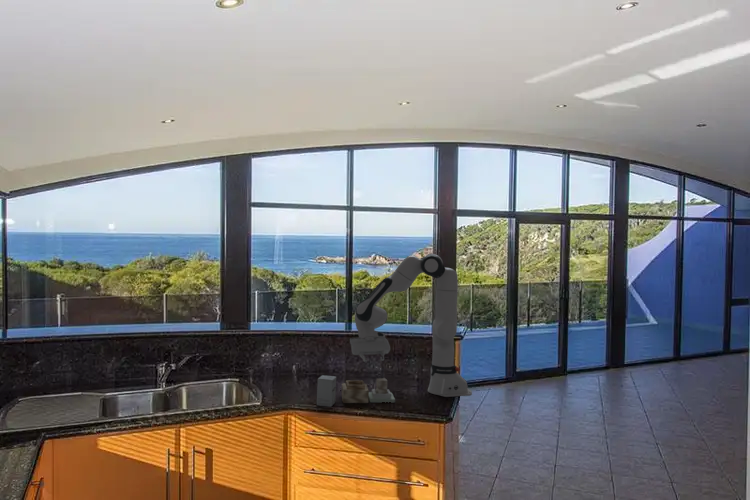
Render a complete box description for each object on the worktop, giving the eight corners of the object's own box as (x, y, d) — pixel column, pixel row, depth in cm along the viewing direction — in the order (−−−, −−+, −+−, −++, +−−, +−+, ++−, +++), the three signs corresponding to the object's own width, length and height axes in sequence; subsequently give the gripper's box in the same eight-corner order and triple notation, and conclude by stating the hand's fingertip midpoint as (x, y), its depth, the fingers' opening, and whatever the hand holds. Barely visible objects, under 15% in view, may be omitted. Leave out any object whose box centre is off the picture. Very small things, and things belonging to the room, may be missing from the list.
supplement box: (331, 407, 277) (332, 380, 276) (316, 405, 278) (317, 378, 278) (335, 402, 284) (336, 376, 283) (320, 401, 285) (321, 374, 285)
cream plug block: (383, 394, 296) (384, 378, 295) (386, 396, 292) (387, 380, 292) (375, 394, 294) (376, 378, 294) (379, 397, 291) (379, 380, 290)
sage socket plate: (391, 395, 300) (391, 388, 300) (395, 402, 288) (395, 395, 288) (367, 395, 298) (367, 388, 298) (370, 402, 287) (370, 395, 286)
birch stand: (365, 395, 297) (366, 379, 297) (368, 403, 285) (368, 386, 285) (341, 395, 296) (342, 379, 296) (342, 402, 284) (343, 386, 284)
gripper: (350, 334, 305) (356, 358, 297) (387, 333, 313) (394, 356, 304) (347, 341, 310) (352, 365, 301) (384, 340, 317) (390, 363, 309)
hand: (374, 360), depth 303 cm, fingers open, 8 cm apart
